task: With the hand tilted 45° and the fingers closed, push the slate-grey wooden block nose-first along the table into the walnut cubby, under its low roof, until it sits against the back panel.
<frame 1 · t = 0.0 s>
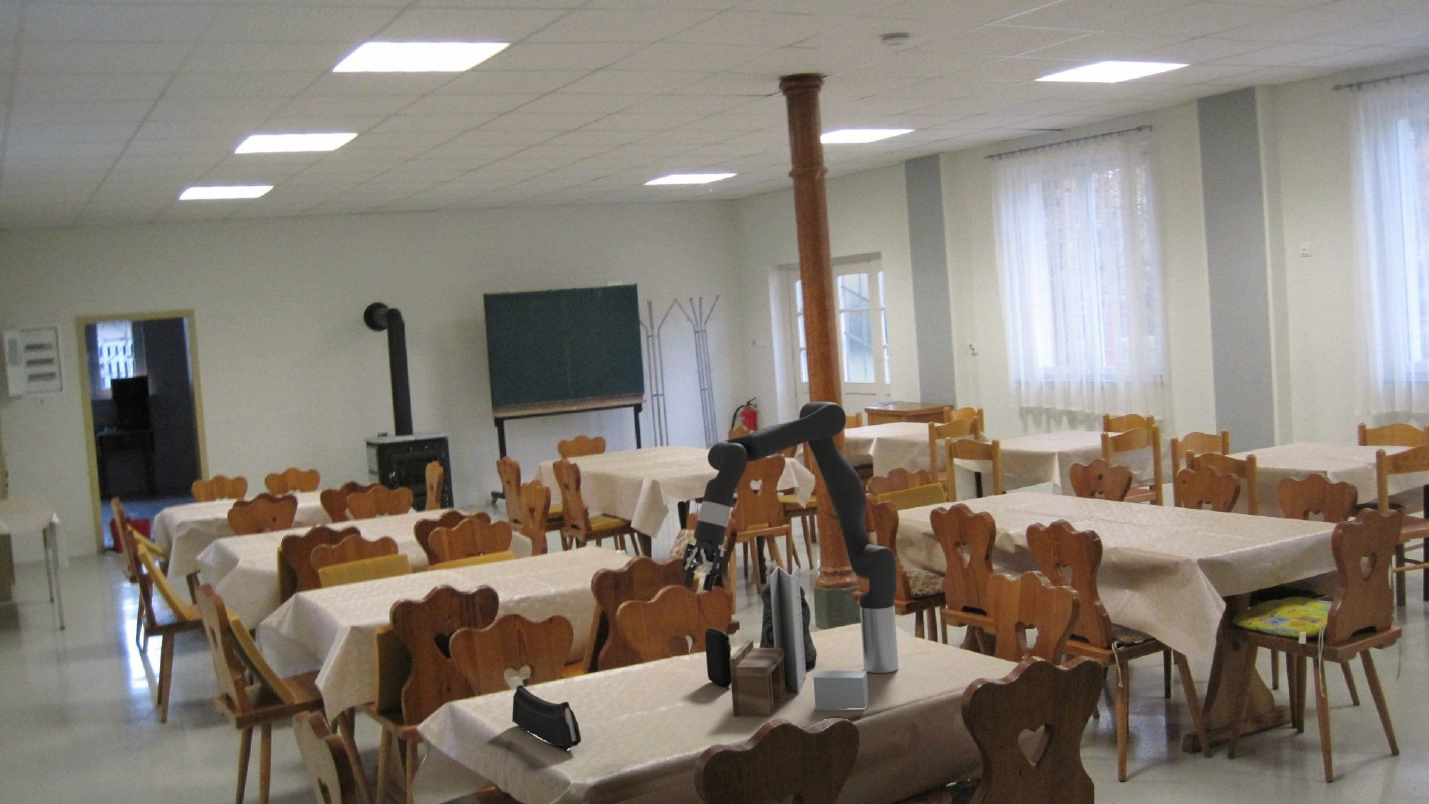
hand: (696, 588, 295), 31 cm above the table, tool tilted 20°, fingers open, 8 cm apart
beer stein: (792, 666, 338), on the table
brochure: (792, 686, 318), on the table
carrying case or bag: (721, 686, 323), on the table
magazine: (546, 740, 288), on the table
grey block: (842, 706, 298), on the table
cubby: (774, 705, 302), on the table
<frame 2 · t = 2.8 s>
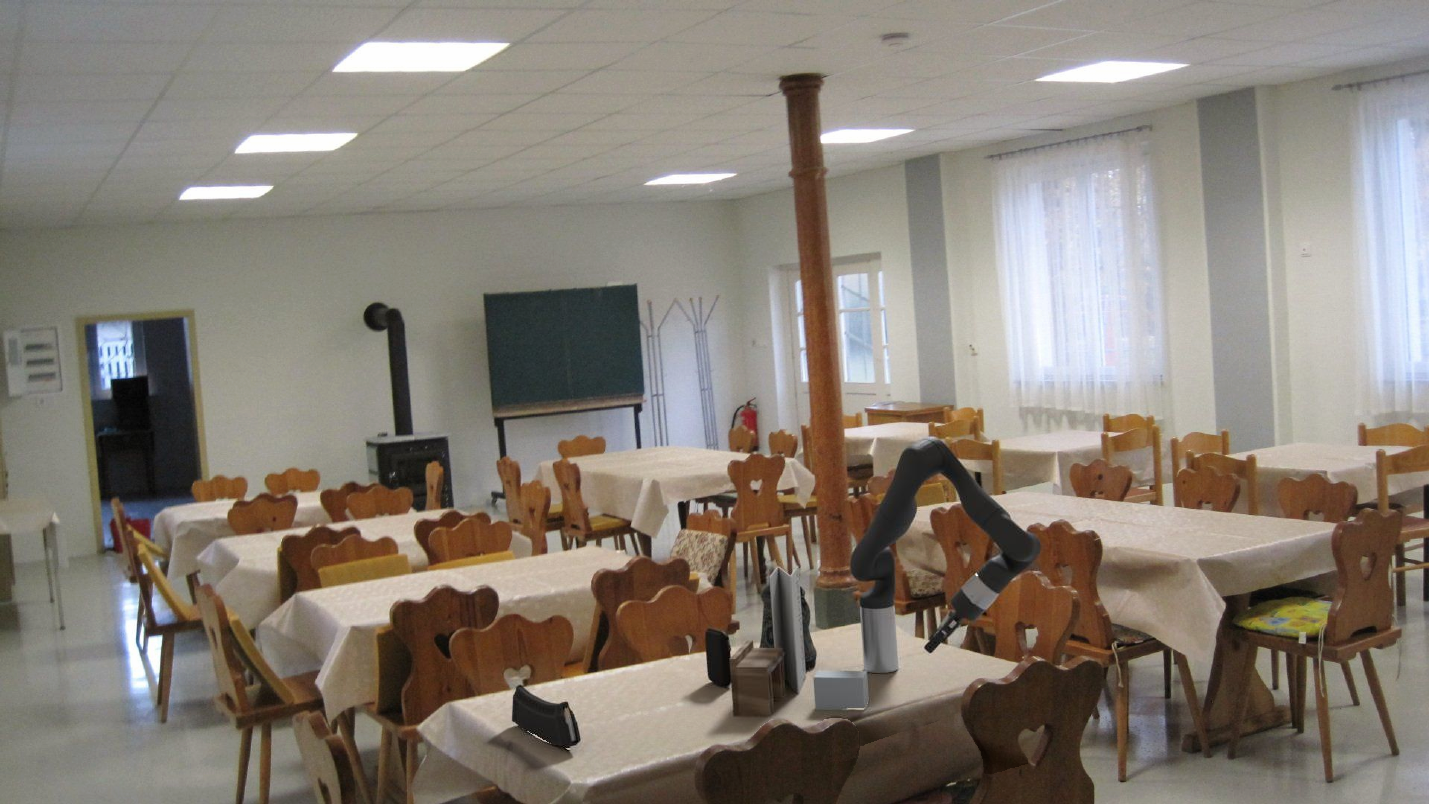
hand: (929, 646, 291), 15 cm above the table, tool tilted 45°, fingers open, 8 cm apart
nothing on the table moved.
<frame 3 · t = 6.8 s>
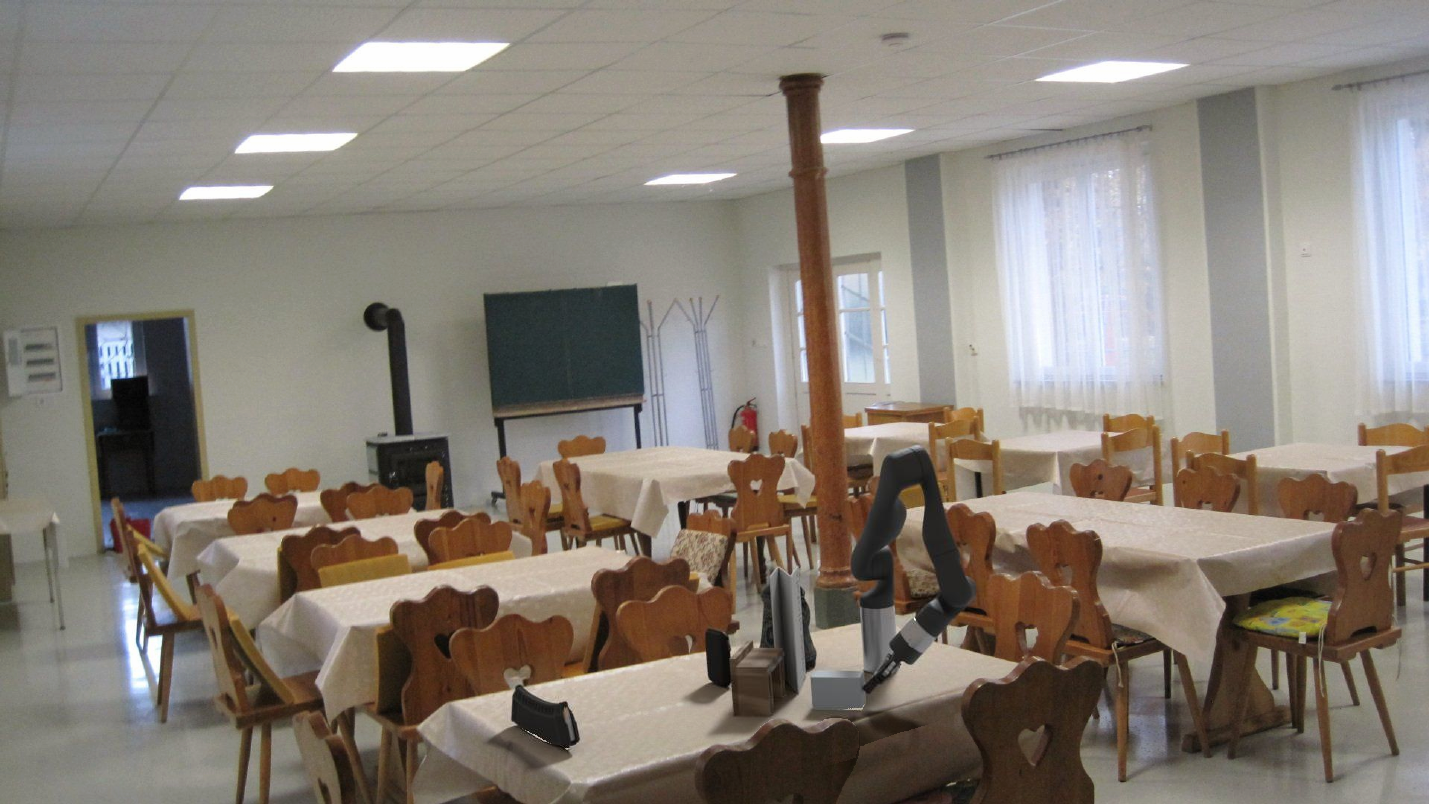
hand: (865, 690, 296), 4 cm above the table, tool tilted 45°, fingers closed
grey block: (839, 706, 298), on the table, touching gripper
everything else where it was.
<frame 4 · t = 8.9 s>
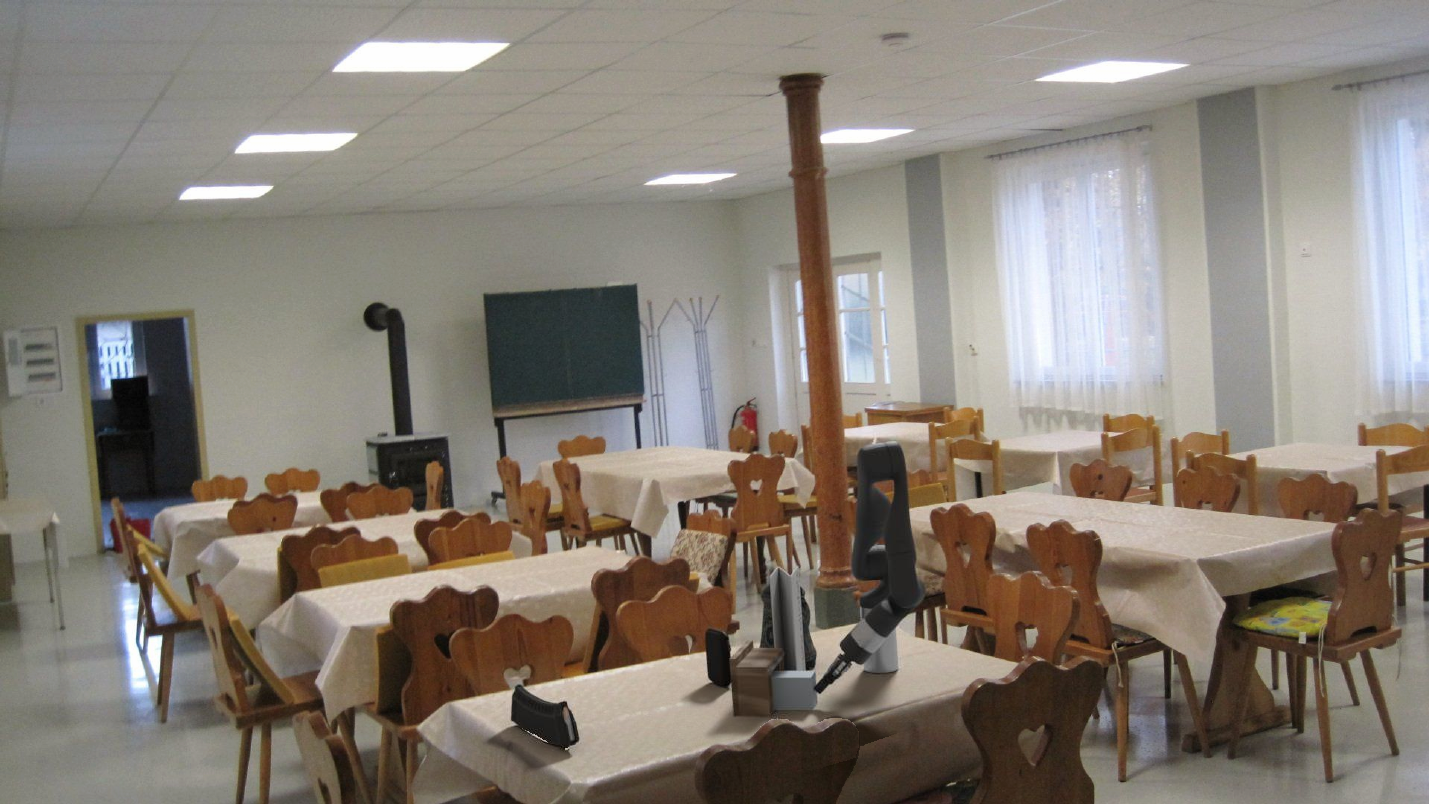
hand: (816, 690, 299), 4 cm above the table, tool tilted 45°, fingers closed
grey block: (791, 706, 301), on the table, touching gripper
everything else where it was.
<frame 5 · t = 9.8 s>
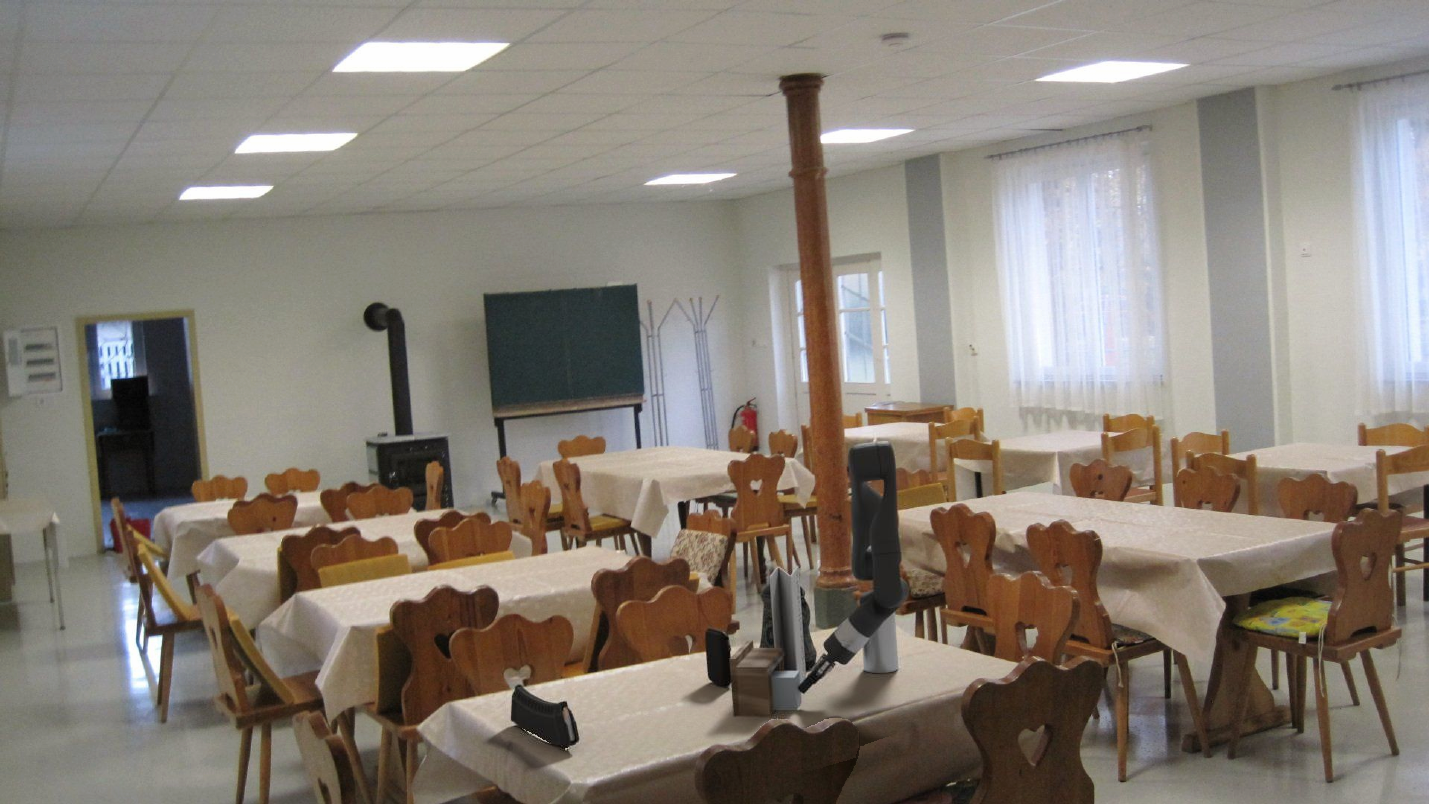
hand: (800, 690, 300), 4 cm above the table, tool tilted 45°, fingers closed
grey block: (775, 706, 302), on the table, touching gripper
everything else where it was.
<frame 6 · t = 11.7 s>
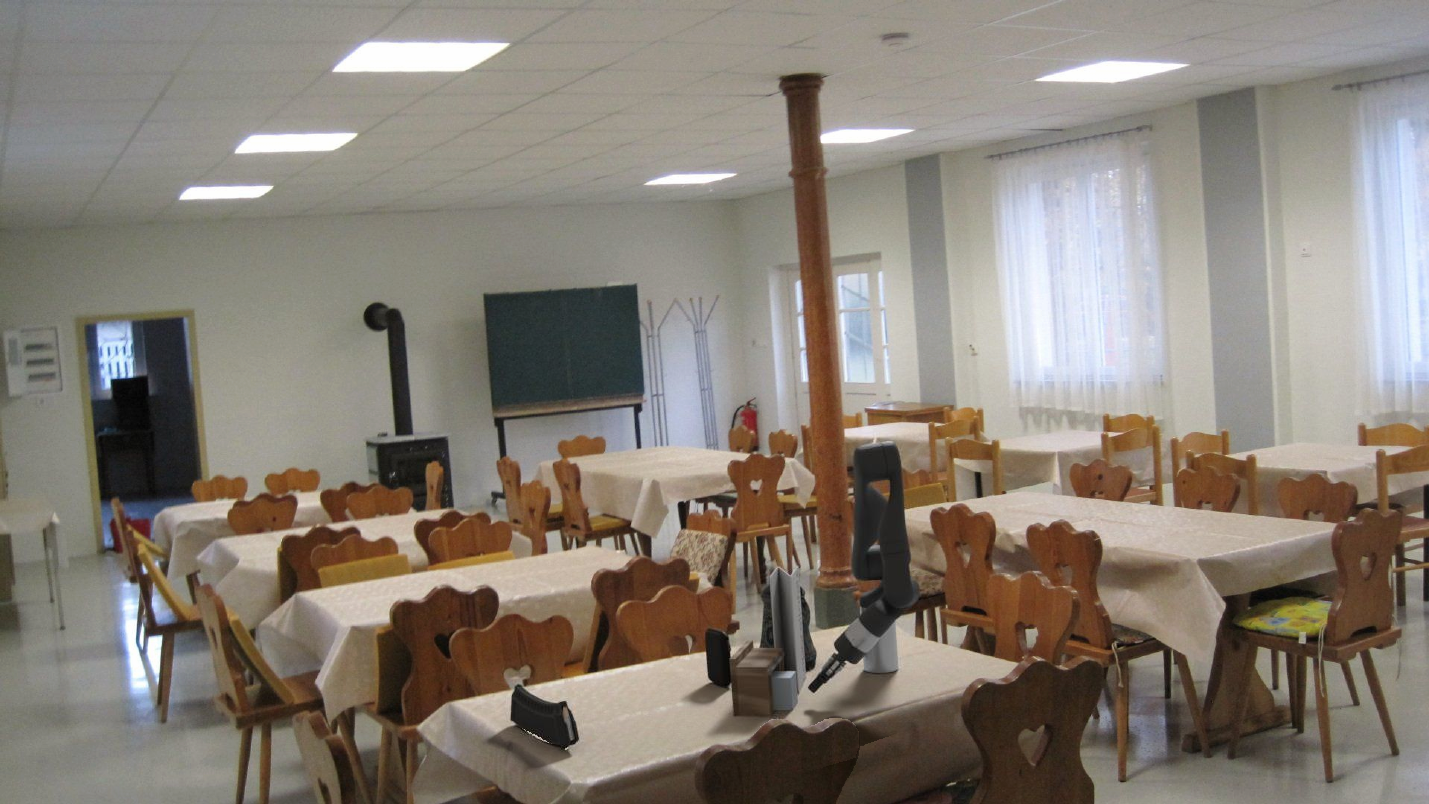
hand: (811, 689, 300), 4 cm above the table, tool tilted 45°, fingers closed
grey block: (771, 706, 302), on the table
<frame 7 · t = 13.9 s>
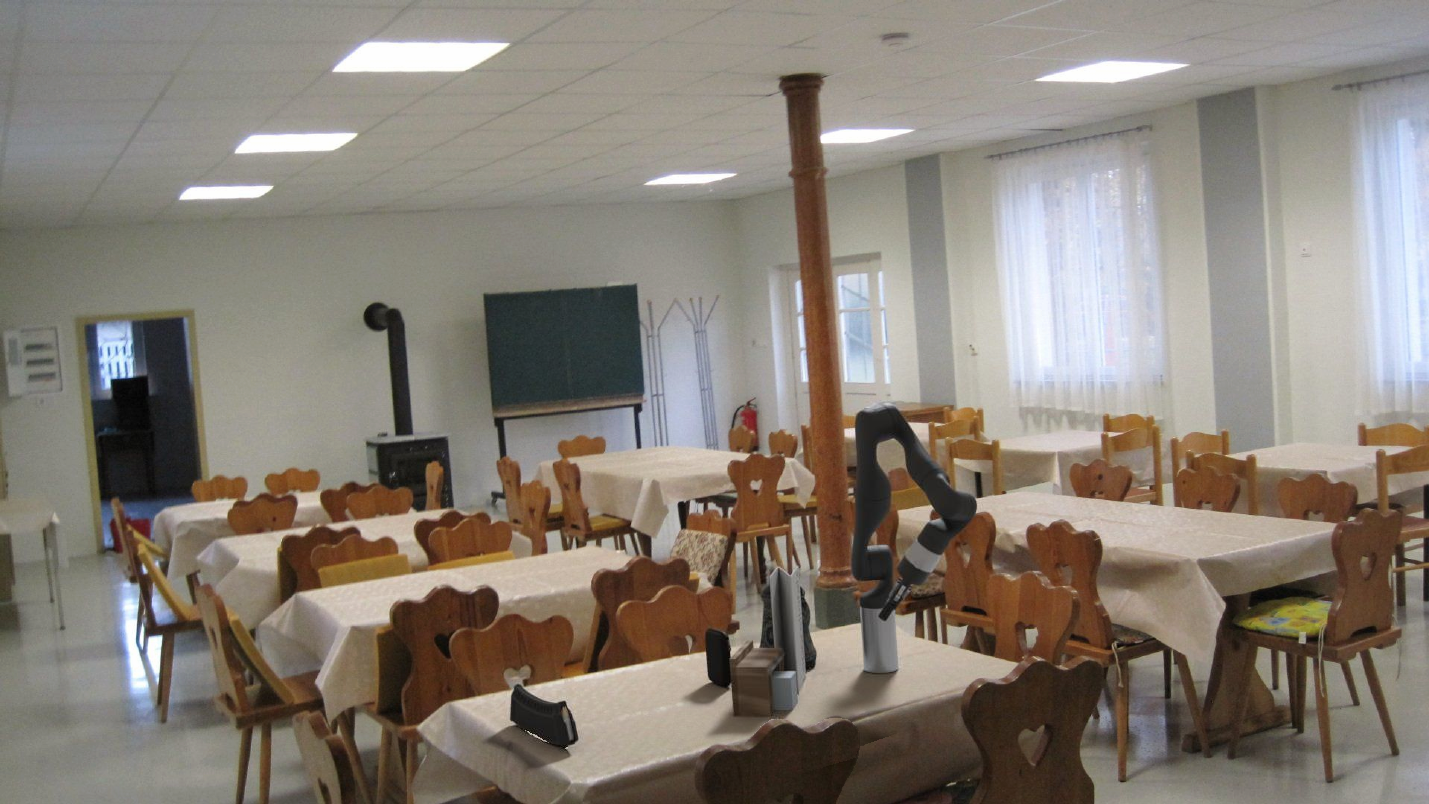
hand: (881, 618, 297), 21 cm above the table, tool tilted 35°, fingers closed
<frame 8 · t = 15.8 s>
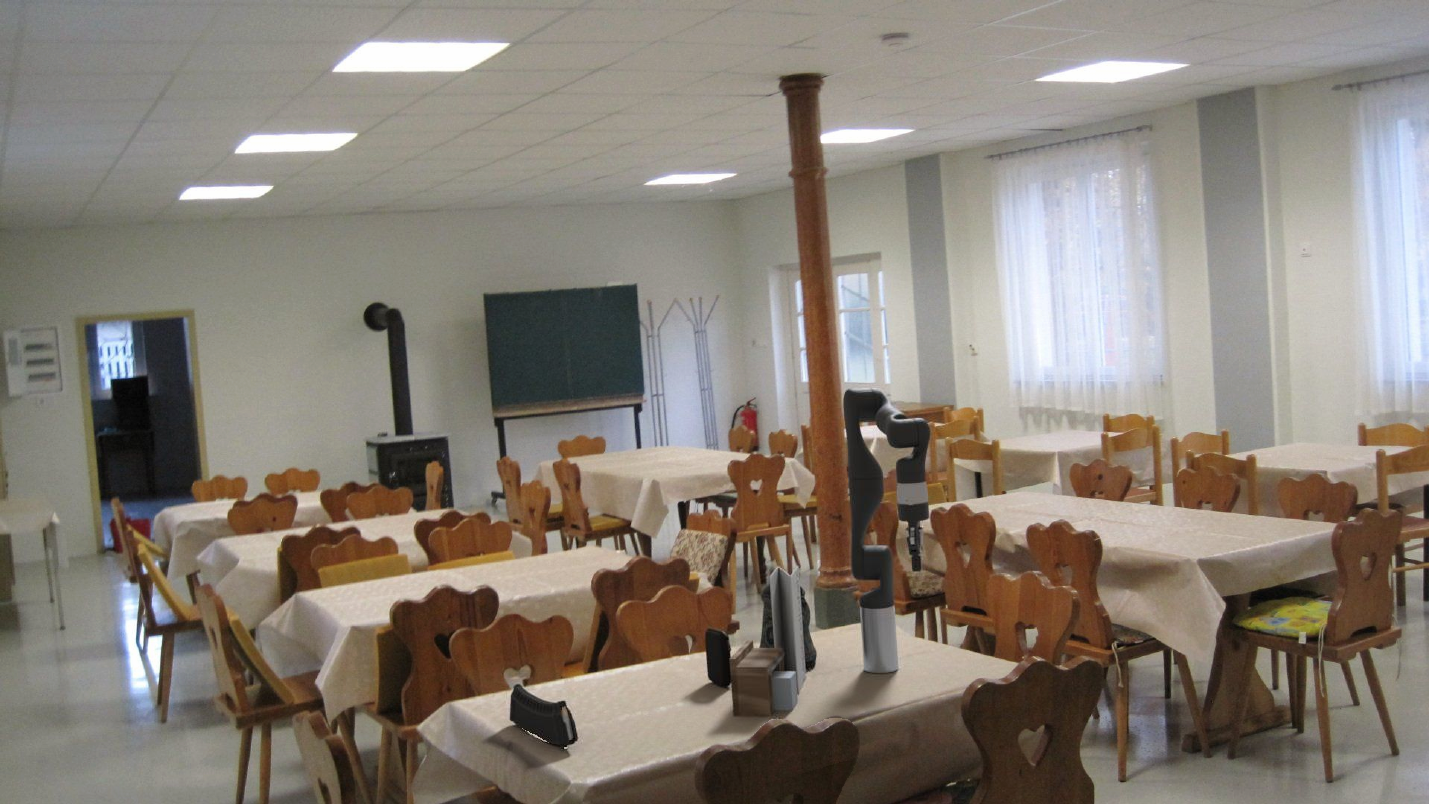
hand: (917, 570, 300), 31 cm above the table, tool pointing down, fingers closed
grey block: (771, 706, 302), on the table, touching cubby
at the end: grey block 0.6 cm off-centre on the cubby, point 0.0 cm above the cubby's base; grey block tilted 0° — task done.
